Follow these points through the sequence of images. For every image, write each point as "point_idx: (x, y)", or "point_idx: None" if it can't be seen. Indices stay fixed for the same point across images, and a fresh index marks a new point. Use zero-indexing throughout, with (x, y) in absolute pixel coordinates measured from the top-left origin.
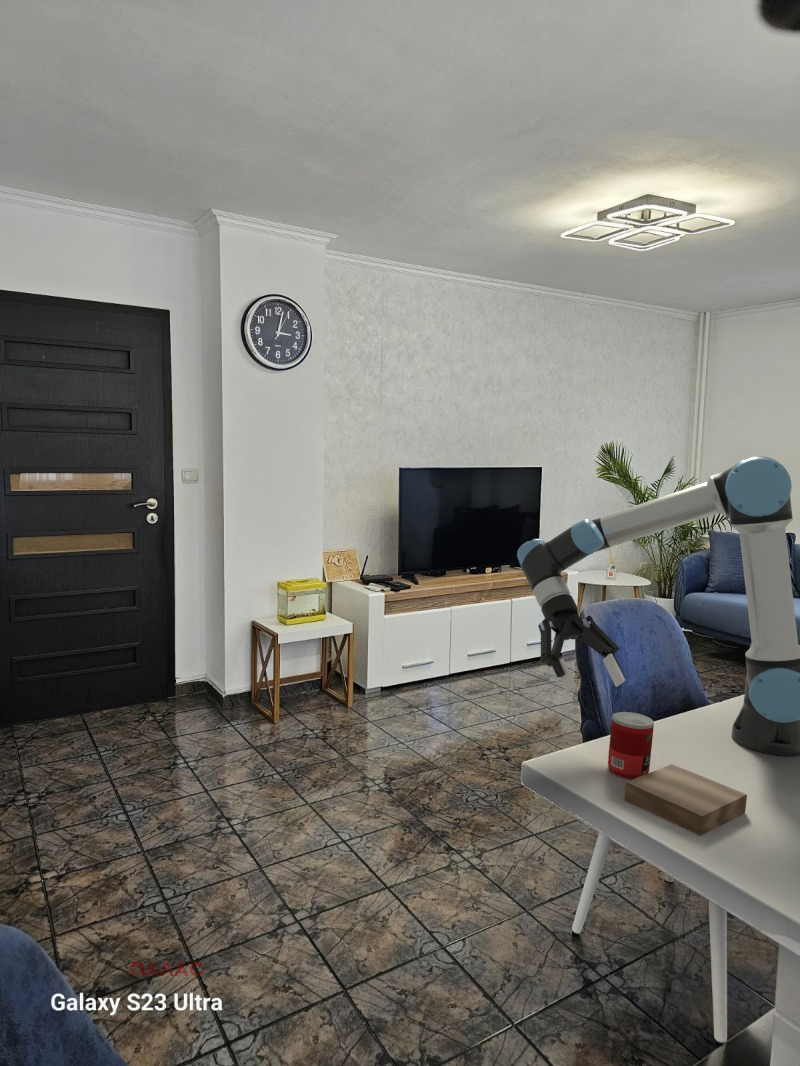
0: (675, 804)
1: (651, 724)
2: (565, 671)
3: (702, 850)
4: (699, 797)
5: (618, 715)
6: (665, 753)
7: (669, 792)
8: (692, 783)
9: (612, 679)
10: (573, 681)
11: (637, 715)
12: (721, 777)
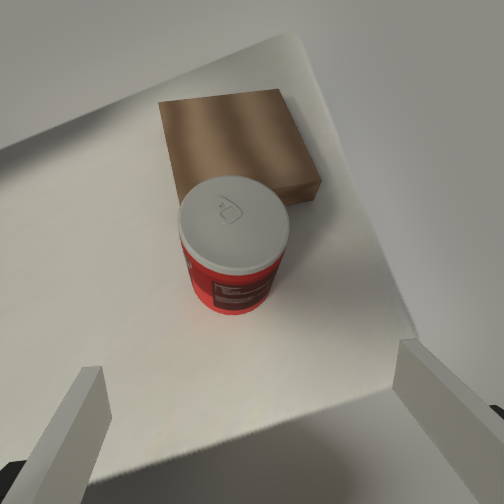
0: (291, 116)
1: (214, 177)
2: (482, 405)
3: (295, 96)
4: (239, 117)
5: (253, 257)
6: (67, 329)
7: (273, 138)
8: (211, 145)
9: (98, 451)
10: (420, 356)
11: (194, 240)
12: (74, 208)
